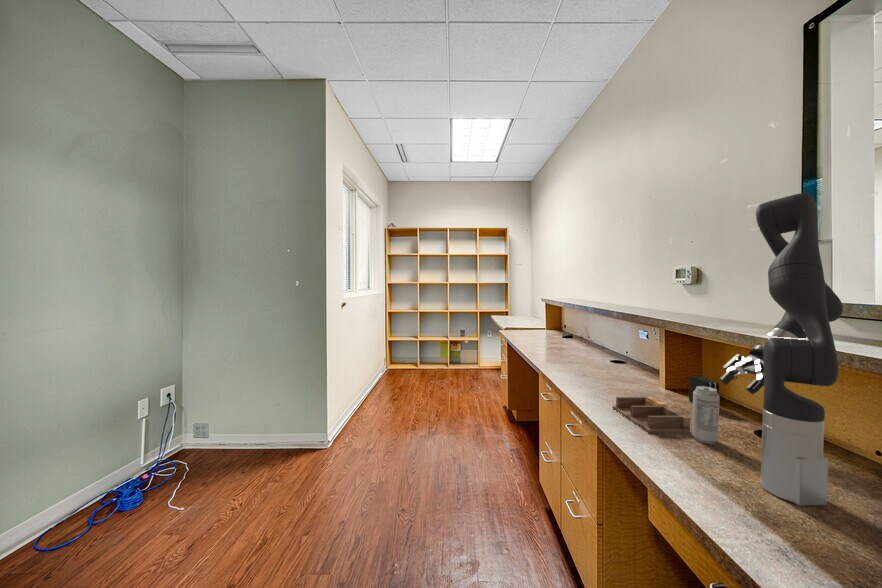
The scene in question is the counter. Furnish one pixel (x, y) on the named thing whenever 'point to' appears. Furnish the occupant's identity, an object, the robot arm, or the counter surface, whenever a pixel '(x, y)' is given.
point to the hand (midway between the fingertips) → (735, 387)
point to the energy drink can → (705, 414)
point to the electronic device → (700, 382)
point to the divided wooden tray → (652, 415)
